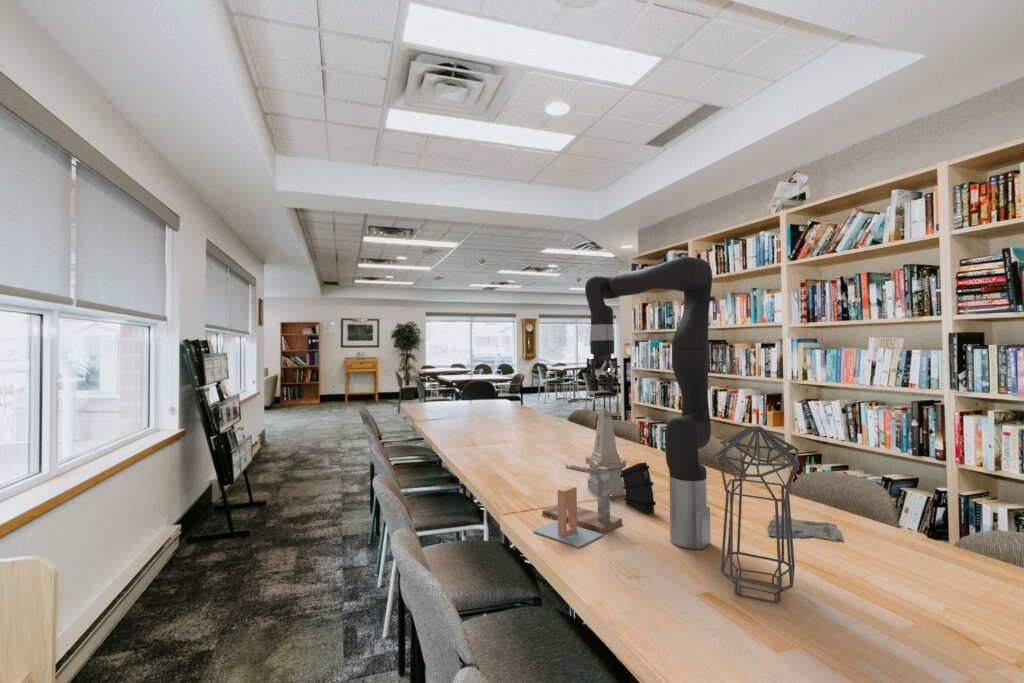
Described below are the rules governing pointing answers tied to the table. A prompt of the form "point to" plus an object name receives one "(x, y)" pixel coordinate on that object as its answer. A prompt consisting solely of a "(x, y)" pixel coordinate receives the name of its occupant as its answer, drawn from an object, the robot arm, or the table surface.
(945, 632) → the table surface
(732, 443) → the geometric lantern
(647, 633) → the table surface
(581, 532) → the mat
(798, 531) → the fossil rock
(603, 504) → the stand
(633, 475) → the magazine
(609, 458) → the miniature monument
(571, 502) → the salmon hollow block
